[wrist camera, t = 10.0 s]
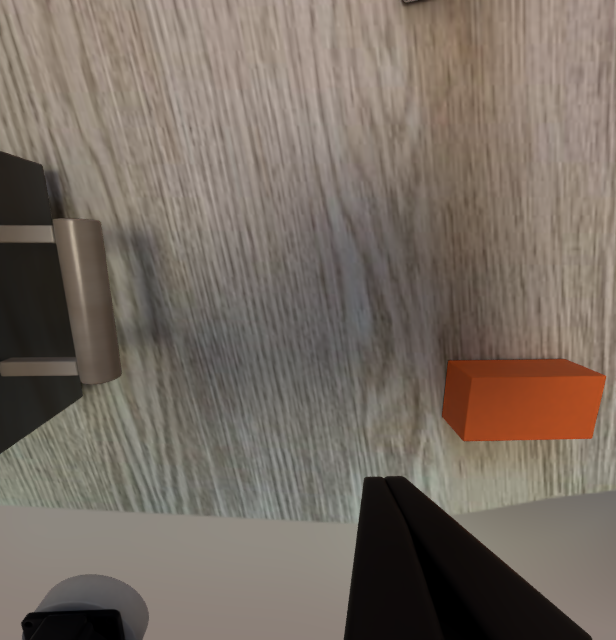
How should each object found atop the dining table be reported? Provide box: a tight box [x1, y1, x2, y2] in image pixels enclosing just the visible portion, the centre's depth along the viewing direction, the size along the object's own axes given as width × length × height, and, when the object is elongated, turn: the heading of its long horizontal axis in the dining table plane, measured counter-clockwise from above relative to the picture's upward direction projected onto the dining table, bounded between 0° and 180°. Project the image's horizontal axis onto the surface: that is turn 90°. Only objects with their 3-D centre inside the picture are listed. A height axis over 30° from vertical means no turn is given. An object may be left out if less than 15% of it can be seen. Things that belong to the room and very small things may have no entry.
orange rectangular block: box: [442, 359, 606, 441], centre depth 17 cm, size 4×7×2 cm, turn 90°
